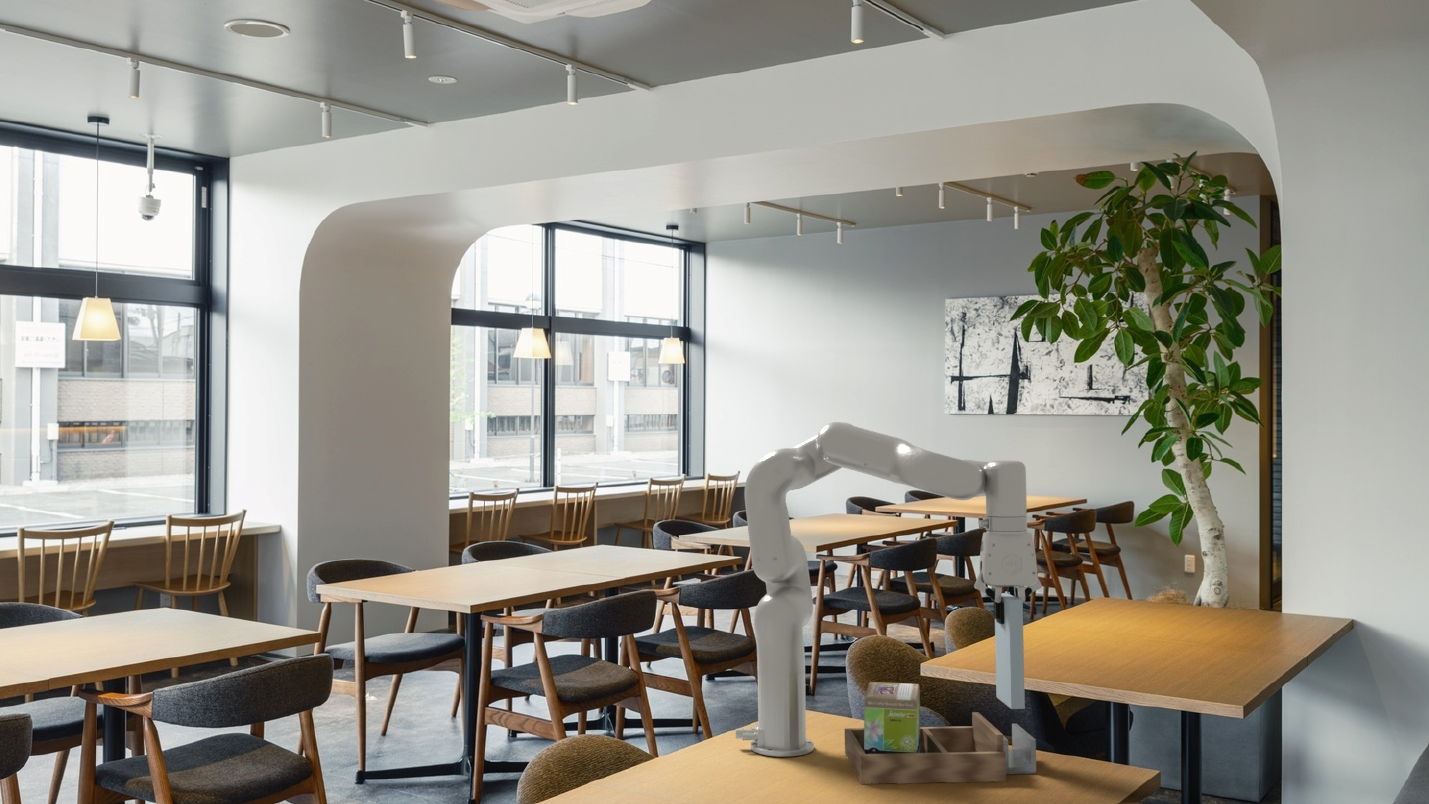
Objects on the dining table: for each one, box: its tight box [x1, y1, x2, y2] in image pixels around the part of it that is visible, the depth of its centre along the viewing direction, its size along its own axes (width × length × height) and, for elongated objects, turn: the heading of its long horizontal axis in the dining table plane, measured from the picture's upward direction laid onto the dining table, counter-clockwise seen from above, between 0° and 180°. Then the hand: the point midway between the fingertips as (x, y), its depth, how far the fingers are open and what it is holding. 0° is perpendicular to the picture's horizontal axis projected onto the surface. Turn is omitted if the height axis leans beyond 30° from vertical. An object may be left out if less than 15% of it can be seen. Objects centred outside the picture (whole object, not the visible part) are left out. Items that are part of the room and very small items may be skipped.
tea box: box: [863, 681, 921, 754], centre depth 217 cm, size 15×10×15 cm
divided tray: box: [844, 711, 1007, 785], centre depth 217 cm, size 26×20×8 cm
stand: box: [1003, 723, 1037, 775], centre depth 218 cm, size 6×12×6 cm, turn 2°
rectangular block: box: [994, 592, 1026, 710], centre depth 219 cm, size 2×10×20 cm, turn 2°
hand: (1008, 622), depth 219 cm, fingers closed on rectangular block, 2 cm apart
